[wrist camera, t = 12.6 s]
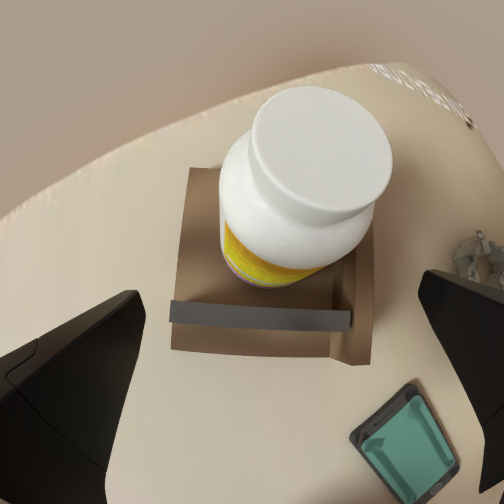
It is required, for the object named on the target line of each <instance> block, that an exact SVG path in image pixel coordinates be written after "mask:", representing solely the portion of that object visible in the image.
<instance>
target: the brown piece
mask: <svg viewBox="0 0 504 504" xmlns="http://www.w3.org/2000/svg"><path fill="white" fill-rule="evenodd" d="M220 172H221V169H208V168H191V167H190V171H189V177H188V184H187V191H186V198H185V205H184V212H183V220H182V228H181V236H180V244H179V253H178V263H177V273H176V283H175V295H174V300H177V301H187V302H198V303H210V304H223V305H236V306H251V307H267V308H286V309H308V310H338V311H350V331H349V332H324V331H285V330H263V329H245V328H230V327H216V326H204V325H193V324H183V323H173V322H172V336H171V349H172V350H181V351H191V352H201V353H213V354H226V355H242V356H263V357H330V358H332V359H335V360H338V361H340V362H343V363H346V364H349V365H351V366H355V365H370V358H371V345H372V327H373V299H374V252H373V224H372V221H371V224H370V226H369V228H368V230H367V232H366V234H365V235H364V237H363V239H362V240H361V241H360V242H359V243H358V245H357V246H356V247H355V248H354V249H353V250H352V251H350V252H349V253H348V254H346V255H345V256H343V257H342V258H340V259H339V260H337V261H335V262H333V263H331V264H329V265H328V266H326V267H324V268H322V269H320V270H318V271H316V272H314V273H312V274H310V275H309V276H307V277H305V278H303V279H301V280H299V281H297V282H295V283H293V284H291V285H288V286H285V287H281V288H273V289H268V288H261V287H257V286H254V285H251V284H249V283H247V282H245V281H244V280H242V279H241V278H239V277H238V276H237V275H236V274H235V273H234V272H233V271H232V270H231V268H230V267H229V266H228V264H227V262H226V260H225V258H224V255H223V253H222V249H221V241H220V203H219V179H220Z"/></svg>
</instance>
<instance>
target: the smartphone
mask: <svg viewBox="0 0 504 504" xmlns="http://www.w3.org/2000/svg"><path fill="white" fill-rule="evenodd" d="M349 440H350V442H351V443H352V444H353V445H354V447H355V448H356V449H357V450H358V452H359V453H360V454H361V455H362V457H363V458H364V459H365V460H366V462H367V463H368V464H369V465H370V467H371V468H372V469H373V470H374V472H375V473H376V474H377V475H378V476H379V478H380V479H381V480H382V481H383V483H384V484H385V485H386V486H387V487H388V489H389V490H390V491H391V492H392V493H393V495H394V496H395V497H396V498H397V499H398V501H399V502H400V503H401V504H426V503H427V502H428V501H429V500H430V499H431V498H432V497H434V496H435V495H436V494H437V493H438V492H439V491H440V490H441V489H442V488H443V487H444V486H445V485H446V484H447V483H448V482H449V481H450V480H451V479H452V478H453V477H454V476H455V475H456V474H457V473H458V471H459V469H460V466H459V464H458V462H457V460H456V458H455V456H454V454H453V452H452V450H451V448H450V446H449V444H448V442H447V440H446V438H445V436H444V435H443V431H442V429H441V427H440V426H439V424H438V422H437V420H436V419H435V418H434V415H433V413H432V411H431V409H430V407H429V406H428V404H427V402H426V400H425V399H424V397H423V395H422V394H421V393H420V391H419V390H418V388H417V386H415V385H412V384H406V385H404V386H403V387H402V388H401V389H400V390H399V391H398V392H397V393H396V394H395V395H394V396H393V397H392V398H391V399H389V400H388V401H387V402H386V403H385V404H384V405H383V406H382V407H381V408H380V409H378V410H377V411H376V412H375V413H374V414H373V415H372V416H370V417H369V418H368V419H367V420H366V421H365V422H363V423H362V424H361V425H360V426H358V427H357V428H356V429H355V430H354V431H352V432H351V434H350V437H349Z"/></svg>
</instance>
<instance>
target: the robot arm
mask: <svg viewBox="0 0 504 504" xmlns="http://www.w3.org/2000/svg"><path fill="white" fill-rule="evenodd" d="M418 297H419V300H420V302H421V304H422V306H423V309H424V311H425V313H426V315H427V317H428V320H429V322H430V324H431V326H432V329H433V331H434V332H435V334H436V336H437V338H438V340H439V342H440V343H441V345H442V347H443V349H444V351H445V352H446V354H447V356H448V358H449V360H450V362H451V364H452V366H453V368H454V370H455V371H456V373H457V375H458V377H459V379H460V381H461V383H462V385H463V388H464V390H465V392H466V394H467V396H468V398H469V400H470V402H471V404H472V407H473V409H474V411H475V413H476V416H477V418H478V420H479V422H480V425H481V427H482V430H483V433H484V438H485V446H484V456H483V465H482V472H481V479H480V485H479V493H480V494H481V493H483V492H484V491H486V490H488V489H490V488H491V487H493V486H495V485H496V484H498V483H500V482H501V481H503V480H504V291H502V290H499V289H496V288H493V287H490V286H487V285H484V284H481V283H478V282H475V281H471V280H468V279H465V278H462V277H459V276H455V275H452V274H449V273H446V272H442V271H439V270H435V269H433V270H426V271H425V272H424V274H423V277H422V280H421V284H420V287H419V290H418ZM145 319H146V313H145V309H144V306H143V303H142V300H141V297H140V294H139V292H138V291H137V290H125V291H123V292H121V293H119V294H117V295H116V296H114V297H112V298H110V299H108V300H106V301H104V302H103V303H101V304H99V305H97V306H95V307H93V308H91V309H90V310H88V311H86V312H84V313H82V314H80V315H79V316H77V317H75V318H73V319H71V320H69V321H68V322H66V323H64V324H62V325H60V326H58V327H57V328H55V329H53V330H51V331H49V332H48V333H46V334H44V335H42V336H41V337H39V339H38V338H36V339H34V340H32V341H31V342H29V343H27V344H25V345H23V346H22V347H20V348H18V349H16V350H14V351H12V352H10V353H8V354H6V355H4V356H2V357H1V358H0V504H107V499H106V493H105V478H106V472H107V468H108V464H109V460H110V455H111V451H112V447H113V443H114V439H115V435H116V432H117V428H118V424H119V420H120V417H121V413H122V409H123V406H124V402H125V399H126V395H127V392H128V388H129V385H130V382H131V378H132V375H133V372H134V369H135V365H136V362H137V359H138V355H139V351H140V345H141V340H142V335H143V329H144V324H145ZM499 504H504V492H503V495H502V497H501V500H500V503H499Z"/></svg>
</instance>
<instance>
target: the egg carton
mask: <svg viewBox="0 0 504 504" xmlns="http://www.w3.org/2000/svg"><path fill="white" fill-rule="evenodd" d="M476 232H477V233H478V235H477V237H474V238H471V239H468V240H465V241H462V242H461V245H460V247H459V249H456V250H454V252H453V261H455V262H456V264H457V265H458V268H459V277H462V278H465V279H468V280H471V281H475V282H478V283H480V274H479V272H478V271H477V268H478V265H477V258H478V257H481V256H485V255H487V257H488V260H489V262H490V263H491V264H492V265H493V273H492V274H490V275H488V277H487V279H486V285H487V286H490V287H493V288H496V289H499V290H502V291H504V248H503V247H501V246H498V245H496V243H495V242H488V241H486V240H484V239H485V238H486V236H484V235H483V234H482V233H481V231H476Z"/></svg>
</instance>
